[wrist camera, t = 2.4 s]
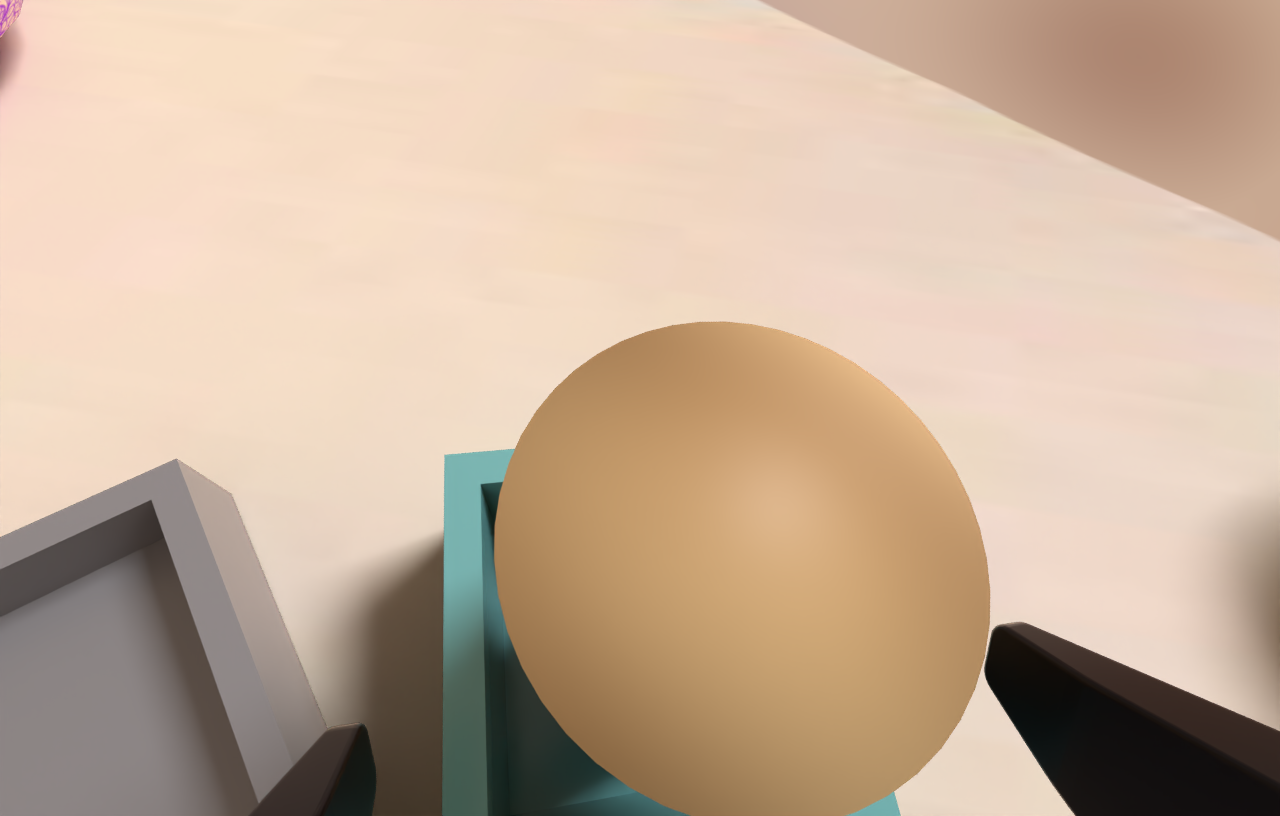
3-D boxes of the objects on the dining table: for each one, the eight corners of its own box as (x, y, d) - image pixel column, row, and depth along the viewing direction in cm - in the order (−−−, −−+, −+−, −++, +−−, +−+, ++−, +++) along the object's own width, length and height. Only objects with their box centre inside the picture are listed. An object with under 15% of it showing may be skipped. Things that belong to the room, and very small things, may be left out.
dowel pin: (652, 791, 15) (861, 988, 4) (503, 664, 16) (376, 576, 5) (751, 624, 17) (1052, 487, 7) (614, 521, 18) (682, 254, 7)
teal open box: (809, 793, 16) (903, 826, 11) (479, 857, 14) (441, 922, 10) (740, 489, 20) (791, 425, 15) (474, 516, 18) (444, 454, 14)
